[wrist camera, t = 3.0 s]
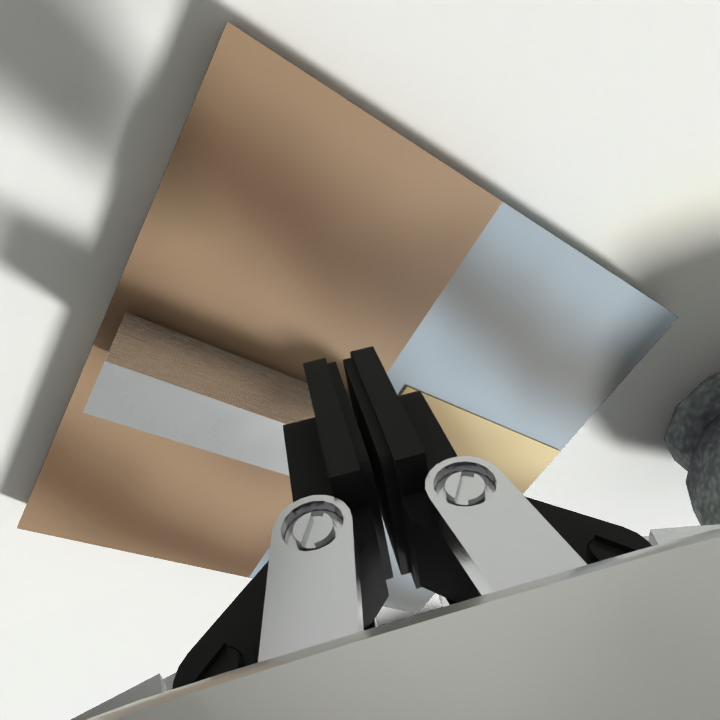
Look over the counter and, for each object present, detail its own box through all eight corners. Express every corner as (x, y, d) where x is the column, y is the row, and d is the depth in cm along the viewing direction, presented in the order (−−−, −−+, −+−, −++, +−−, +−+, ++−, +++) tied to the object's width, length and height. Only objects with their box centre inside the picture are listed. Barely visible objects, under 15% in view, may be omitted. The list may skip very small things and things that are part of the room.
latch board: (227, 22, 15) (227, 21, 13) (658, 304, 22) (680, 317, 21) (27, 505, 21) (16, 529, 20) (410, 593, 29) (417, 615, 28)
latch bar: (412, 406, 21) (437, 458, 18) (370, 466, 22) (387, 522, 19) (133, 293, 16) (113, 339, 14) (98, 375, 17) (74, 431, 15)
